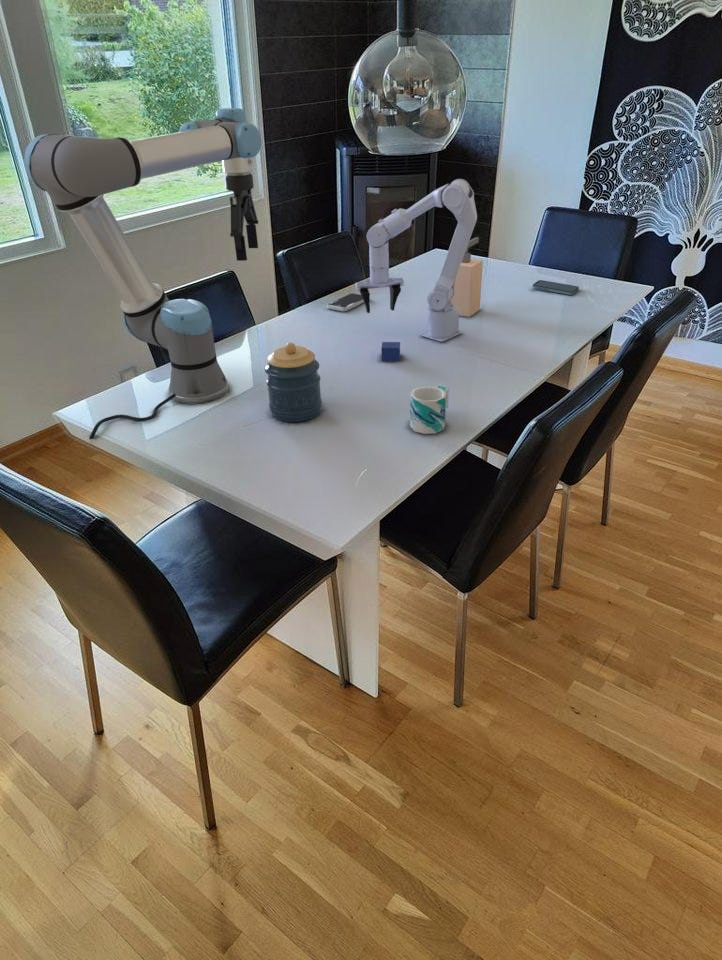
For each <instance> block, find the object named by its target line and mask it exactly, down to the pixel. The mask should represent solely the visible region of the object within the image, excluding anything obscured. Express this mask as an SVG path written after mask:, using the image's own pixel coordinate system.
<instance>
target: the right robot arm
mask: <svg viewBox="0 0 722 960" xmlns="http://www.w3.org/2000/svg"><path fill="white" fill-rule="evenodd" d="M434 207H436V208H443V207H446V209H448V210H449V211H450V212H451V213H452V215H453V216H454V217H455V219H456V221H457V224H456V227H455V230H454V233H453V236H452V238H451V242H450V245H449V248H448V251H447V253H446V256H445V259H444V261H443V266H442V267H441V270H440V273H439V276H438V279H437V280H436V283H435V285H434V288H433V289H432V291H430V292H429V294H428V295H427V304H428V318H427V319H428V321H427V322H428V323H427V327H428V328H427V332H424V333H423V334H421V337H422V338H427V339H429V340H432V341H436V342H439V343H443V342H446V341H449V340H450V339H452V338H455V337H457V336H459V335H460V334H461V333H462V332H461V331H459V329H460V327H459V326H460V315H459V310H458V308H457V307H456V306H455V305H454V304H452V302H451V299H452V298H453V296H454V284H455V281H456V276H457V273H458V270H459V268H460V265H461V262H462V259H463V257H464V254H465V251H466V248H467V246H468V243H469V241H470V240H471V237H472V234H473V231H474V229H475V226H476V224H477V220H478V212H477V208H476V202H475V192H474V190H473V188H472V187H471V186H470V183H469V182H468V181H467V180H466V179H463V178H457V179H454V180H453V181H451V182H450V183H446V184H444V185H442V186H440V187H438V188H435V189H434V190H433V191H432V192H430V193H429V194H427V195H426V196H424V197H422V198H421V199H420V200H419V201H417V202H416V203H414V204H413V205H411V206H410V207H408V208H407V209H405V208H398V209H397V208H394V209H393V210H391V214H389V215H388V216H386V217H385V218H380V219H379V220H378V222H377V223H375V224H374V225H372V226H371V227H370V228H369V229H368V230H367V232H366V241H367V243H368V246H369V249H368V250H369V252H368V253H369V254H368V256H369V257H368V258H369V279H367V280H361V281H357V282H355V290H356V291H358V292H359V294H360V295H362V298H363V300H364V302H363V304H364V307H365V311H366V313H367V314H370V313H371V306H370V296H371V293H370V290H369V289H379V288H380V289H381V288H389V298H390V299H389V308H390V310H391V311H392V312H393V311H395V307H396V303H397V301H398V300H397V299H398V297H399V295H400V293H401V291H402V287H404V281H405V280H404V279H403V278H402V277H397V278H396V277H390V257H389V255H390V252H389V251H390V250H389V240H390V239H394V238H395V237H396V236H398V235H400V234H401V233H403V232H404V231H405V230H407V229H409V228H410V227H411V225H412V222H413V220H415V219H416V218H417V217H419V216H421V215H422V214H424V213H426V212H427V211H430V210H431V209H432V208H434Z"/></svg>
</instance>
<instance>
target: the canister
mask: <svg viewBox="0 0 722 960" xmlns="http://www.w3.org/2000/svg"><path fill="white" fill-rule="evenodd" d="M266 360H267V364H265V367H264V372H265V373H266V375H267V378H266V382H265V383H266V385H267V393H268V400H269V402H268V406H269V410H270V413H271V415H272V417H273V418H275V419H276V420H279V421H282V422H288V423H289V422H290V423H296V422H297V423H298V422H304V421H308V420H311V419H313V418H315V417H317V416H318V415H319V414H320V413H321V411H322V408H323V399H322V392H321V376H320V374H319V372H318V370H319V369H320V363H319V361H318V360H317V359H316V354H315V352H313V351H312V350H309V349H308V348H306V347H304V346H299V345H296V344H294V343H293V342H287V343H286V344H285V346H283V347H279V348H277V349H275V350H274V351H273V352H272V353H270V354H269V355H268V356H267V359H266Z"/></svg>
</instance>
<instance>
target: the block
mask: <svg viewBox="0 0 722 960" xmlns="http://www.w3.org/2000/svg"><path fill="white" fill-rule="evenodd" d="M380 352H381V353H380V355H381V362H400V360H401V341H382V342H381V351H380Z"/></svg>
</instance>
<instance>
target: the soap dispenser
mask: <svg viewBox="0 0 722 960" xmlns="http://www.w3.org/2000/svg"><path fill="white" fill-rule="evenodd" d="M478 243H480V237H478V236H476V237H474V238H472V239H470V240H469V243H468V246H467V248H466V251H465V254H464V257H463V259H462V262H461V265H460V268H459V270H458V273H457V276H456V281H455V284H454V296H453V298H452V299H451V302H452V304H454V305H455V306H456V307H457V308H458V310H459V317H466V318H469V317H471V316H472V315H474V314H476V313H477V312H478V311H480V309H481V298H482V296H481V294H482V282H483V264H484V261H483V259H476V258H472V253H471V252H469V249H470V248H471V247H473V246H475V245H476V244H478Z"/></svg>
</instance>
